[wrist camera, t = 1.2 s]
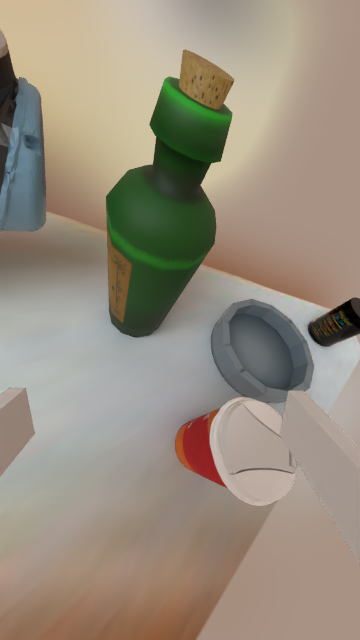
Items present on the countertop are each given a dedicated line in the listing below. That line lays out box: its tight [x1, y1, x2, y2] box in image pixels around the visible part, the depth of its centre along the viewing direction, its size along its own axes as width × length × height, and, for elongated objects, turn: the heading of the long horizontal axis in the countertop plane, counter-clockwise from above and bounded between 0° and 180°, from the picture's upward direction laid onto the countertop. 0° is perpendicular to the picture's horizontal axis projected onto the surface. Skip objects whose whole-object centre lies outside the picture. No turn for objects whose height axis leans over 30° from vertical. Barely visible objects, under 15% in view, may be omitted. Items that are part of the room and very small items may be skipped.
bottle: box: [106, 50, 234, 337], centre depth 23 cm, size 11×11×28 cm
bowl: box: [211, 299, 314, 403], centre depth 37 cm, size 18×18×4 cm
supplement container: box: [308, 298, 360, 347], centre depth 44 cm, size 7×7×10 cm
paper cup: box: [175, 397, 296, 506], centre depth 22 cm, size 8×8×14 cm
